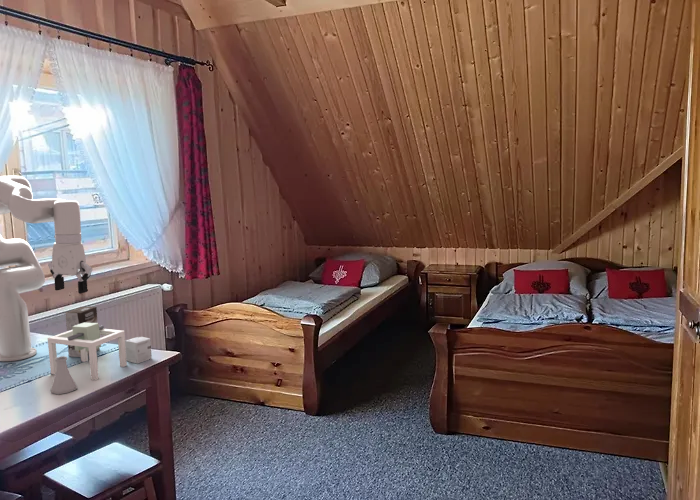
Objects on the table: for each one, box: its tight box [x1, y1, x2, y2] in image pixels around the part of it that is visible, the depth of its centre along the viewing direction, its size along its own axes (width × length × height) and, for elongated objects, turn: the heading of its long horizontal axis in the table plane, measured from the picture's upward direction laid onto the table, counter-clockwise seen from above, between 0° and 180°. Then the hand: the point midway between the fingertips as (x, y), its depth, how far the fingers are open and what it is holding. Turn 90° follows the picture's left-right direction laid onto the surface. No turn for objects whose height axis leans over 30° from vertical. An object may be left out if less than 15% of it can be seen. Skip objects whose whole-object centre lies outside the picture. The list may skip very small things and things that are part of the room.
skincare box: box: [125, 336, 153, 364], centre depth 193 cm, size 6×6×7 cm
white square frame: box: [47, 324, 128, 381], centre depth 183 cm, size 18×14×13 cm
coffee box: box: [64, 306, 101, 358], centre depth 200 cm, size 9×6×16 cm
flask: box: [50, 355, 78, 395], centre depth 167 cm, size 7×7×10 cm
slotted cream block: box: [72, 322, 102, 351], centre depth 183 cm, size 6×5×8 cm
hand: (71, 291), depth 183 cm, fingers open, 9 cm apart
